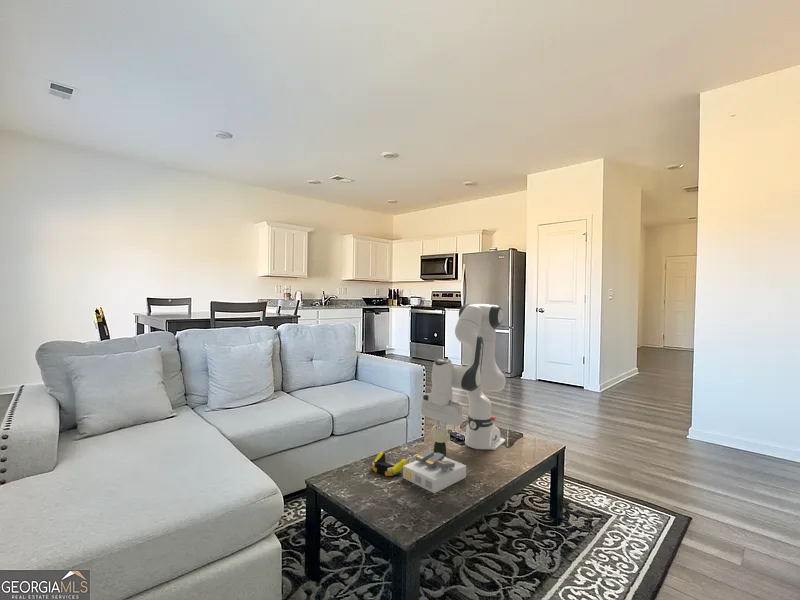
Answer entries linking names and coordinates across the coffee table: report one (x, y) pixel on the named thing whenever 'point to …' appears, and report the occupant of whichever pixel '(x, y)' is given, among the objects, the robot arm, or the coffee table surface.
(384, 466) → the gaming controller
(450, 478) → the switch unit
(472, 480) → the coffee table surface
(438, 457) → the block
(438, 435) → the character mug
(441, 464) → the block
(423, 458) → the block
